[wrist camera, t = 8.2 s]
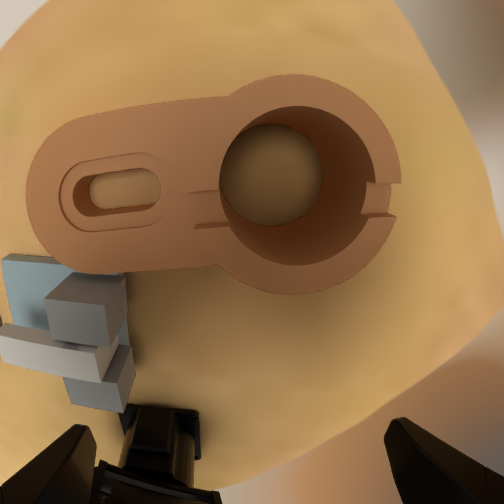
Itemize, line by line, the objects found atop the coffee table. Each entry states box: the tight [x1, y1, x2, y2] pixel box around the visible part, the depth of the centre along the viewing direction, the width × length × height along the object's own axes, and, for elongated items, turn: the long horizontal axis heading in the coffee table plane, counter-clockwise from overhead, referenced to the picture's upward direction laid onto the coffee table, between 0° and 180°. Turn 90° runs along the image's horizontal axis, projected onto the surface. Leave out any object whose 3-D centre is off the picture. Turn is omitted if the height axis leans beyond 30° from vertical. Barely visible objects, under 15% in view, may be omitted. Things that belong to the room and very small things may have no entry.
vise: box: [0, 254, 136, 413], centre depth 16 cm, size 8×10×5 cm
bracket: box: [26, 74, 401, 295], centre depth 14 cm, size 18×8×7 cm, turn 93°
